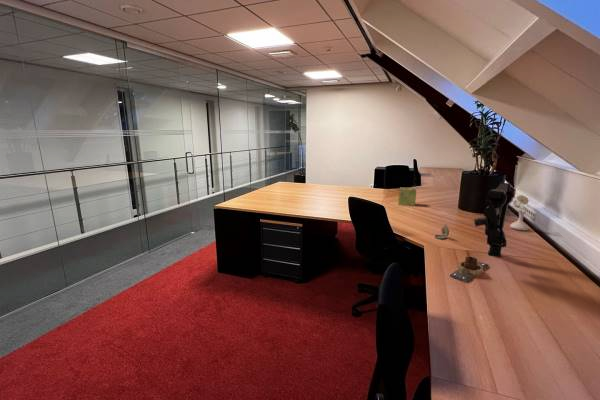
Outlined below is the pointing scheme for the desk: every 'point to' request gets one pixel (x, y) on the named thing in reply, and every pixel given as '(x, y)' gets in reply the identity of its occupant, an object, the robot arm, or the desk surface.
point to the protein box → (407, 196)
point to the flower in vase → (520, 214)
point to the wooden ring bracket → (468, 271)
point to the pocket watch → (443, 233)
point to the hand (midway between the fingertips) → (489, 242)
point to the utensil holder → (470, 262)
